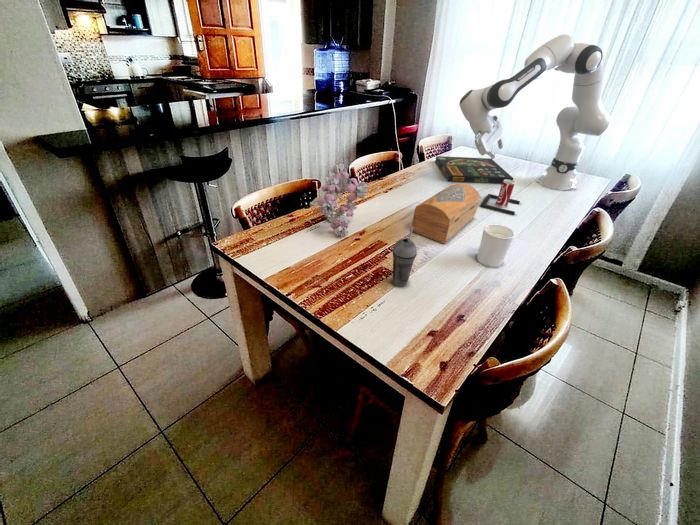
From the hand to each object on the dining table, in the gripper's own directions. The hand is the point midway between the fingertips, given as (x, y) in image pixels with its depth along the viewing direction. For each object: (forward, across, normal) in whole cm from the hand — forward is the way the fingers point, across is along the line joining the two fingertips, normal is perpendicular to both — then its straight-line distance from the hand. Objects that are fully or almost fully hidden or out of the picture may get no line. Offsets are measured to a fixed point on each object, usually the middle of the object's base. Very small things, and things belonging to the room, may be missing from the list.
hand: (498, 152), depth 150 cm
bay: (+21, -10, +6) cm, 24 cm away
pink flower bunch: (-21, -76, +27) cm, 84 cm away
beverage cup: (-2, -90, -4) cm, 90 cm away
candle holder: (+17, -60, -12) cm, 63 cm away
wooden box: (+5, -46, +9) cm, 47 cm away
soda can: (+22, -10, +6) cm, 24 cm away
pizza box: (+12, +25, +35) cm, 44 cm away
